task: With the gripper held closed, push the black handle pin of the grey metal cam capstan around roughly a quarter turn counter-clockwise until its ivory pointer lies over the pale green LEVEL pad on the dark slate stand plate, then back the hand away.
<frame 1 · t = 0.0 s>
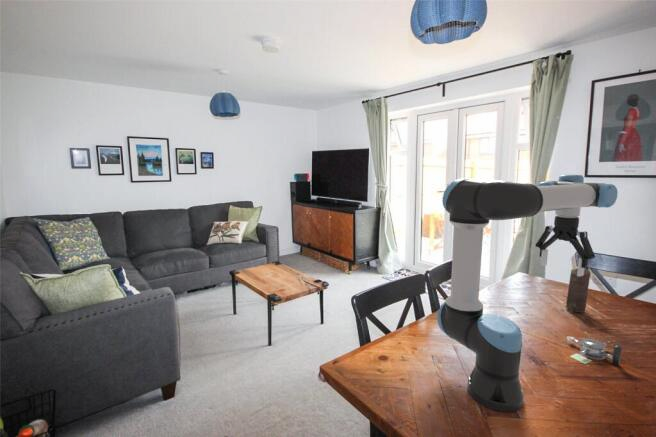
hand: (561, 270, 128), 28 cm above the table, fingers open, 13 cm apart
candle: (575, 311, 155), on the table
stand plate: (596, 357, 119), on the table
cam capstan: (592, 344, 119), point 5 cm above the table, hinge at 0.0°
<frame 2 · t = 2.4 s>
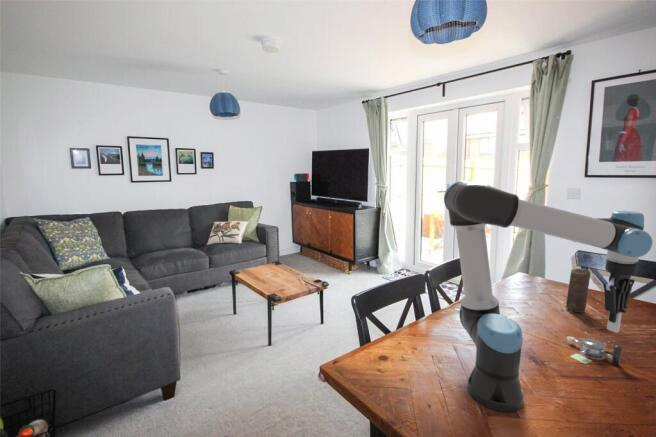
hand: (612, 330, 108), 15 cm above the table, fingers closed
nothing on the table moved.
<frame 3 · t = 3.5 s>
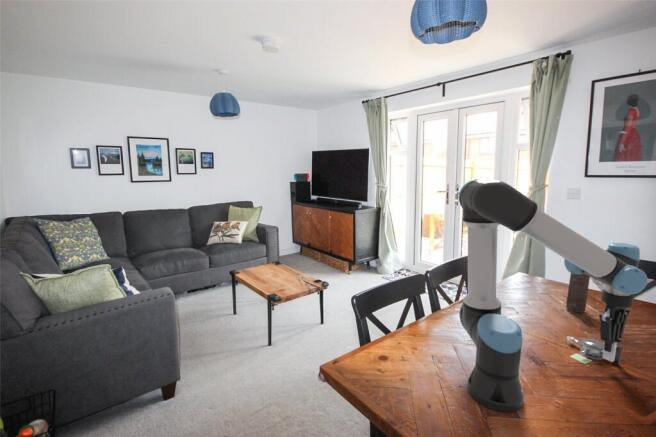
hand: (608, 359, 109), 5 cm above the table, fingers closed
nothing on the table moved.
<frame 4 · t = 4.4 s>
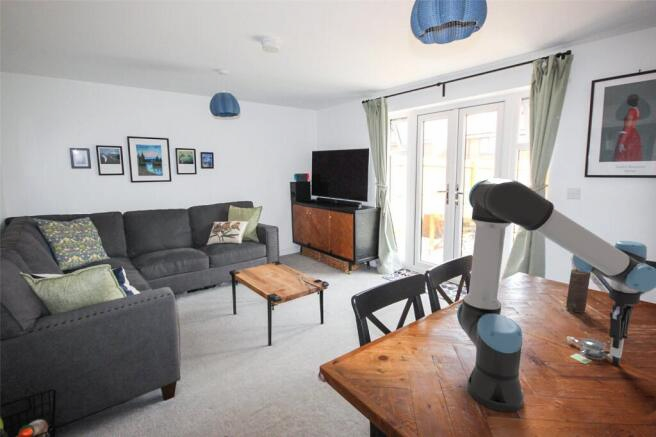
hand: (615, 355, 111), 5 cm above the table, fingers closed
cam capstan: (592, 344, 119), point 5 cm above the table, hinge at 0.0°, touching gripper
everything else where it was.
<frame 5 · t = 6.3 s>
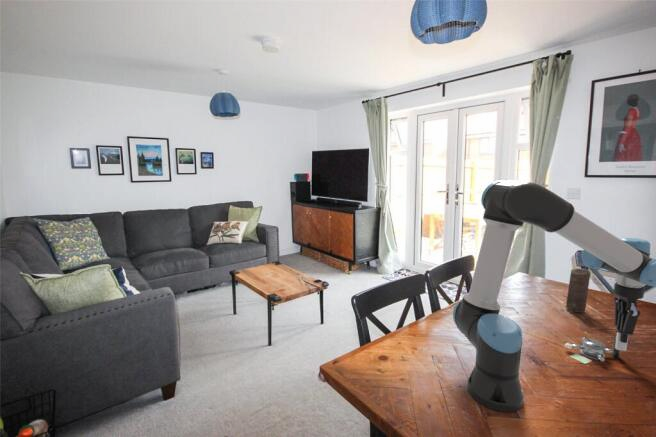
hand: (620, 349, 115), 5 cm above the table, fingers closed
cam capstan: (592, 345, 119), point 5 cm above the table, hinge at 49.5°, touching gripper
everything else where it was.
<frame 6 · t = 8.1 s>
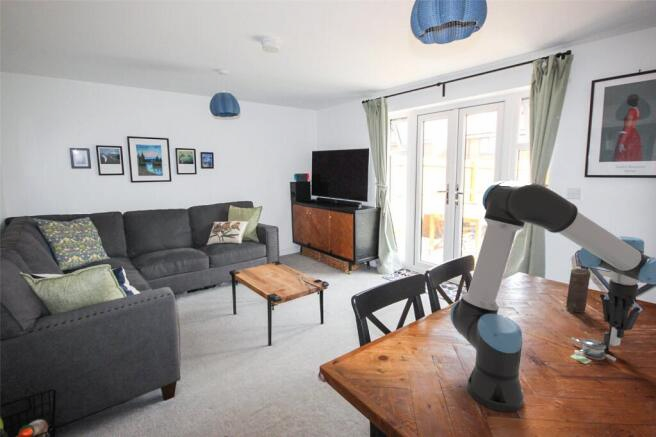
hand: (614, 344, 118), 5 cm above the table, fingers closed
cam capstan: (592, 345, 118), point 5 cm above the table, hinge at 85.2°
everything else where it was.
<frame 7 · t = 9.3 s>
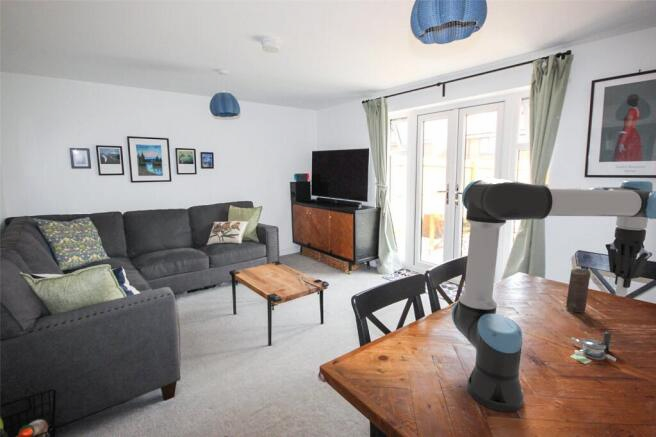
hand: (620, 295, 113), 24 cm above the table, fingers closed
nothing on the table moved.
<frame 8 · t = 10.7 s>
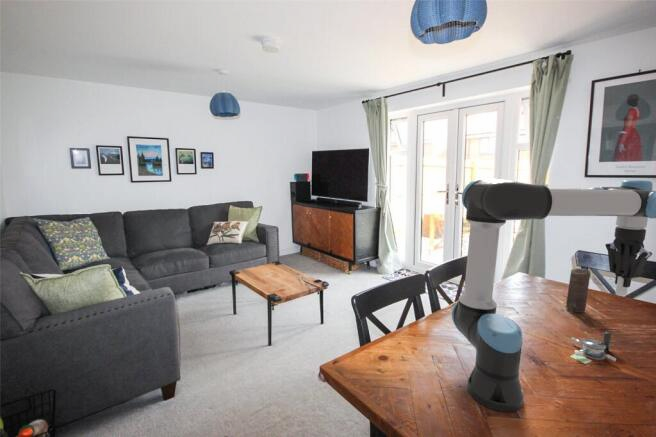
hand: (620, 294, 113), 24 cm above the table, fingers closed
nothing on the table moved.
at the end: cam capstan at +85° (first picture: +0°) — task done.
